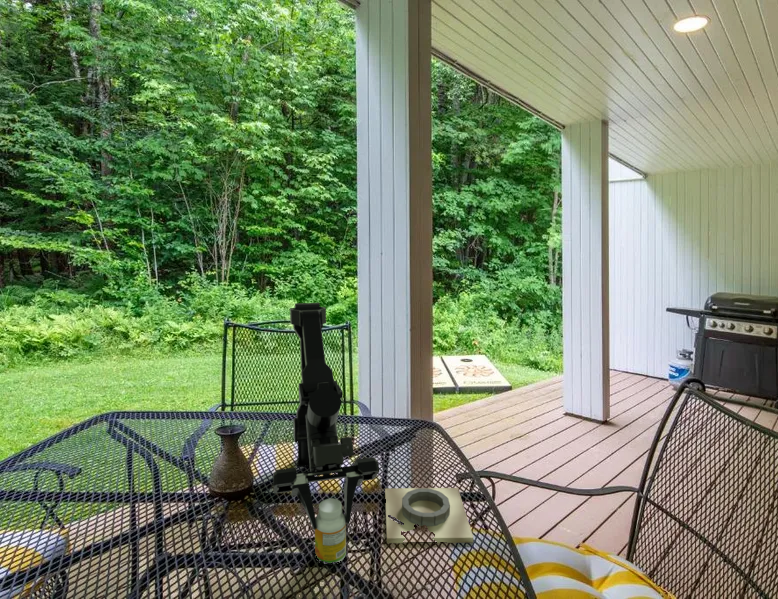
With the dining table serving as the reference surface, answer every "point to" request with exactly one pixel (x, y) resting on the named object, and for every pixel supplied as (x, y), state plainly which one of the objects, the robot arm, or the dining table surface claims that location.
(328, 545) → the supplement bottle
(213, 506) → the dining table surface
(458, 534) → the ring holder
